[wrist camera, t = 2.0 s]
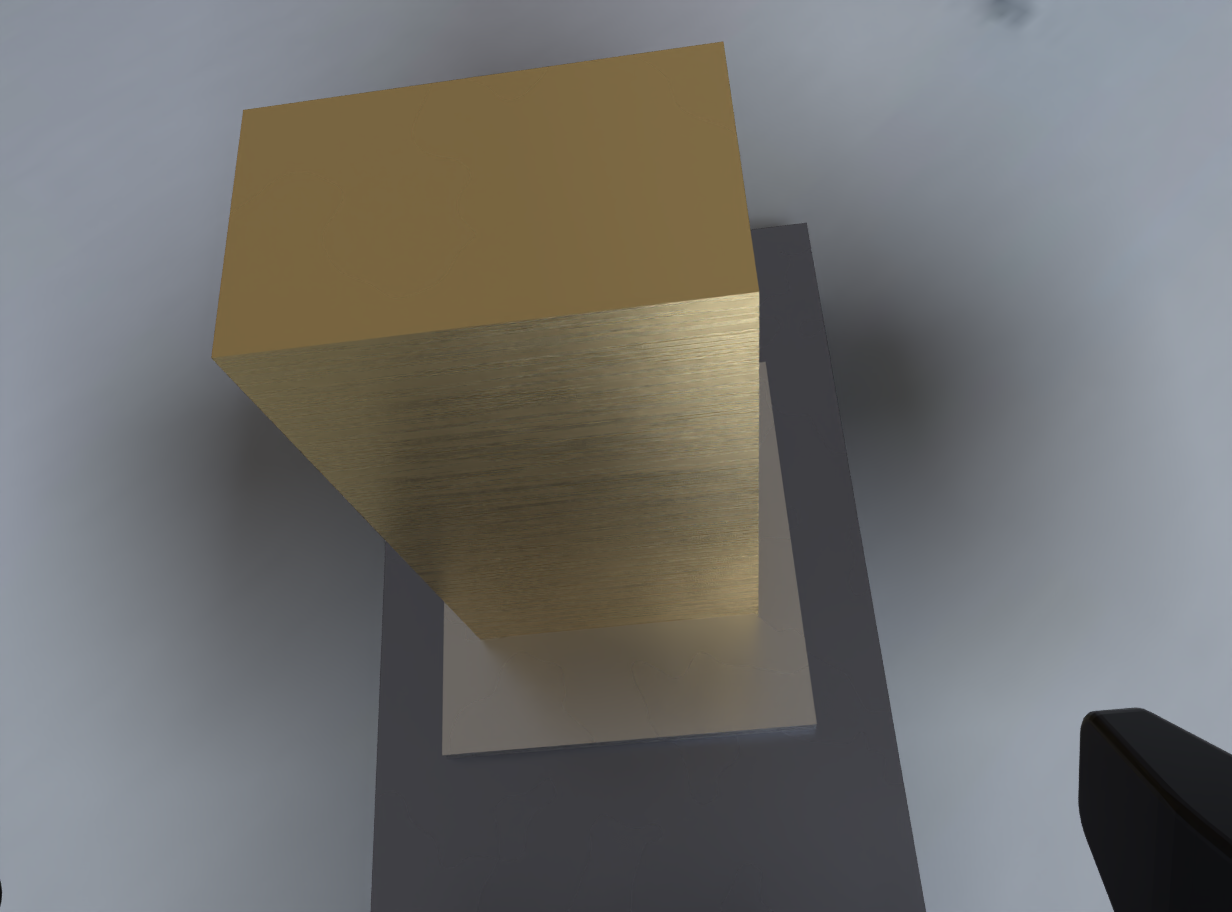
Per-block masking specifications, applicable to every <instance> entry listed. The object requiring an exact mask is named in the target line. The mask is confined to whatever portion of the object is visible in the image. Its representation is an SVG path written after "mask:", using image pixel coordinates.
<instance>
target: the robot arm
mask: <svg viewBox="0 0 1232 912" xmlns="http://www.w3.org/2000/svg"><path fill="white" fill-rule="evenodd" d="M1078 804H1079V813H1080V818H1081V823H1082V827H1083V831H1084V834H1085V837H1086V839H1087V842H1088V845H1089V847H1090V850H1091V852H1092V855H1093V858H1094V860H1095V863H1096V866H1097V868H1098V871H1099V873H1100V876H1101V879H1102V881H1103V884H1104V886H1105V889H1106V892H1107V894H1108V897H1109V899H1110V902H1111V905H1112V907H1113V910H1114V912H1232V754H1230V753H1228V752H1226V751H1224V750H1222V749H1220V748H1218V747H1216V746H1215V745H1213V744H1211V743H1209V742H1207V741H1205V740H1203V739H1201V738H1199V737H1197V736H1195V735H1194V734H1192V733H1190V732H1188V731H1186V730H1184V729H1182V728H1180V727H1178V726H1176V725H1175V724H1173V723H1171V722H1169V721H1167V720H1165V719H1163V718H1161V717H1159V716H1157V715H1156V714H1154V713H1152V712H1150V711H1147V710H1145V709H1142V708H1125V709H1113V710H1101V711H1092V712H1090V713H1088V714H1087V715H1086V716H1085V717H1084V719H1083V722H1082V725H1081V730H1080V759H1079V794H1078ZM1 900H2V887H1V881H0V905H1Z"/></svg>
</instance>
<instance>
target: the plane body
mask: <svg viewBox="0 0 1232 912" xmlns="http://www.w3.org/2000/svg"><path fill="white" fill-rule="evenodd" d="M750 231H751V238H752V245H753V252H754V259H755V266H756V273H757V280H758V287H759V572H758V613H754V614H743V615H732V616H722V617H711V618H700V619H689V620H678V621H668V622H657V623H646V624H635V625H625V626H614V627H603V628H592V629H582V630H571V631H560V632H549V633H539V634H528V635H517V636H506V637H496V638H485V639H479V638H478V637H477V636H476V635H475V634H474V632H473V631H472V630H471V629H470V628H469V627H468V626H467V625H466V624H465V623H464V622H463V621H462V620H461V619H460V618H459V617H458V616H457V615H456V614H455V613H454V612H453V611H452V609H451V608H450V607H449V606H448V605H447V604H446V603H445V602H444V601H443V600H442V599H441V598H440V597H439V596H438V595H437V594H436V593H435V592H434V591H433V590H432V589H431V587H430V586H429V585H428V584H427V583H426V582H425V581H424V580H423V579H422V578H421V577H420V576H419V575H418V574H417V573H416V572H415V571H414V570H413V569H412V568H411V567H410V565H409V564H408V563H407V562H406V561H405V560H404V559H403V558H402V557H401V556H400V555H399V554H398V553H397V552H396V551H395V550H394V549H393V548H392V547H391V546H390V545H389V544H388V542H387V541H386V546H385V570H384V595H383V620H382V645H381V670H380V695H379V719H378V744H377V769H376V794H375V819H374V844H373V869H372V893H371V912H926V909H925V903H924V897H923V892H922V886H921V880H920V874H919V869H918V863H917V857H916V851H915V846H914V840H913V834H912V828H911V822H910V817H909V811H908V805H907V799H906V794H905V788H904V782H903V776H902V771H901V765H900V759H899V753H898V747H897V742H896V736H895V730H894V724H893V719H892V713H891V707H890V701H889V696H888V690H887V684H886V678H885V673H884V667H883V661H882V655H881V649H880V644H879V638H878V632H877V626H876V621H875V615H874V609H873V603H872V598H871V592H870V586H869V580H868V574H867V569H866V563H865V557H864V551H863V546H862V540H861V534H860V528H859V523H858V517H857V511H856V505H855V500H854V494H853V488H852V482H851V476H850V471H849V465H848V459H847V453H846V448H845V442H844V436H843V430H842V425H841V419H840V413H839V407H838V401H837V396H836V390H835V384H834V378H833V373H832V367H831V361H830V355H829V350H828V344H827V338H826V332H825V326H824V321H823V315H822V309H821V303H820V298H819V292H818V286H817V280H816V275H815V269H814V263H813V257H812V252H811V246H810V240H809V234H808V228H807V223H801V224H793V225H785V226H777V227H769V228H761V229H753V230H750Z"/></svg>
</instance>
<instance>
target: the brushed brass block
mask: <svg viewBox="0 0 1232 912" xmlns="http://www.w3.org/2000/svg"><path fill="white" fill-rule="evenodd" d="M211 358H212V359H213V360H214V361H215V362H216V363H217V364H218V366H219V367H220V368H221V369H222V370H223V371H224V372H225V373H226V374H227V375H228V376H229V377H230V378H231V379H232V380H233V381H234V382H235V383H236V384H237V385H238V386H239V387H240V389H241V390H242V391H243V392H244V393H245V394H246V395H247V396H248V397H249V398H250V399H251V400H252V401H253V402H254V403H255V404H256V405H257V406H258V407H259V408H260V409H261V411H262V412H263V413H264V414H265V415H266V416H267V417H268V418H269V419H270V420H271V421H272V422H273V423H274V424H275V425H276V426H277V427H278V428H279V429H280V430H281V431H282V433H283V434H284V435H285V436H286V437H287V438H288V439H289V440H290V441H291V442H292V443H293V444H294V445H295V446H296V447H297V448H298V449H299V450H300V451H301V452H302V453H303V455H304V456H305V457H306V458H307V459H308V460H309V461H310V462H311V463H312V464H313V465H314V466H315V467H316V468H317V469H318V470H319V471H320V472H321V473H322V474H323V475H324V476H325V478H326V479H327V480H328V481H329V482H330V483H331V484H332V485H333V486H334V487H335V488H336V489H337V490H338V491H339V492H340V493H341V494H342V495H343V496H344V497H345V498H346V500H347V501H348V502H349V503H350V504H351V505H352V506H353V507H354V508H355V509H356V510H357V511H358V512H359V513H360V514H361V515H362V516H363V517H364V518H365V519H366V520H367V522H368V523H369V524H370V525H371V526H372V527H373V528H374V529H375V530H376V531H377V532H378V533H379V534H380V535H381V536H382V537H383V538H384V539H385V540H386V541H387V542H388V544H389V545H390V546H391V547H392V548H393V549H394V550H395V551H396V552H397V553H398V554H399V555H400V556H401V557H402V558H403V559H404V560H405V561H406V562H407V563H408V564H409V565H410V567H411V568H412V569H413V570H414V571H415V572H416V573H417V574H418V575H419V576H420V577H421V578H422V579H423V580H424V581H425V582H426V583H427V584H428V585H429V586H430V587H431V589H432V590H433V591H434V592H435V593H436V594H437V595H438V596H439V597H440V598H441V599H442V600H443V601H444V602H445V603H446V604H447V605H448V606H449V607H450V608H451V609H452V611H453V612H454V613H455V614H456V615H457V616H458V617H459V618H460V619H461V620H462V621H463V622H464V623H465V624H466V625H467V626H468V627H469V628H470V629H471V630H472V631H473V632H474V634H475V635H476V636H477V637H478V638H479V639H485V638H496V637H506V636H517V635H528V634H539V633H549V632H560V631H571V630H582V629H592V628H603V627H614V626H625V625H635V624H646V623H657V622H668V621H678V620H689V619H700V618H711V617H722V616H732V615H743V614H754V613H758V572H759V287H758V280H757V273H756V266H755V259H754V252H753V245H752V238H751V231H750V224H749V217H748V210H747V203H746V196H745V189H744V182H743V175H742V168H741V161H740V154H739V147H738V140H737V133H736V126H735V119H734V112H733V105H732V98H731V91H730V84H729V77H728V70H727V63H726V57H725V50H724V43H723V42H717V43H710V44H703V45H696V46H689V47H682V48H675V49H668V50H661V51H654V52H647V53H640V54H633V55H626V56H619V57H612V58H605V59H598V60H591V61H584V62H577V63H570V64H563V65H556V66H549V67H542V68H535V69H528V70H521V71H514V72H507V73H500V74H493V75H486V76H479V77H472V78H465V79H458V80H451V81H444V82H437V83H430V84H423V85H416V86H409V87H401V88H394V89H387V90H380V91H373V92H366V93H359V94H352V95H345V96H338V97H331V98H324V99H317V100H310V101H303V102H296V103H289V104H282V105H275V106H268V107H261V108H254V109H247V110H243V117H242V124H241V132H240V140H239V147H238V155H237V163H236V171H235V178H234V186H233V194H232V202H231V209H230V217H229V225H228V233H227V240H226V248H225V256H224V264H223V271H222V279H221V287H220V295H219V302H218V310H217V318H216V326H215V333H214V341H213V349H212V357H211Z"/></svg>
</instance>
